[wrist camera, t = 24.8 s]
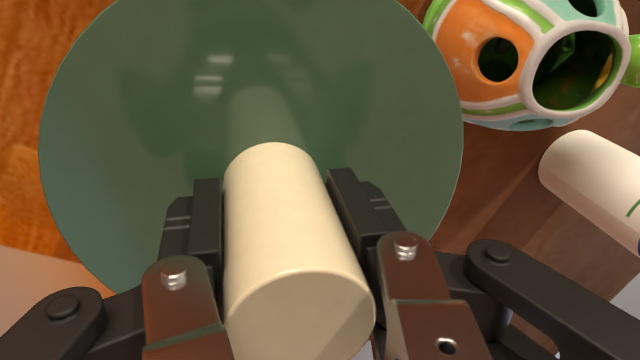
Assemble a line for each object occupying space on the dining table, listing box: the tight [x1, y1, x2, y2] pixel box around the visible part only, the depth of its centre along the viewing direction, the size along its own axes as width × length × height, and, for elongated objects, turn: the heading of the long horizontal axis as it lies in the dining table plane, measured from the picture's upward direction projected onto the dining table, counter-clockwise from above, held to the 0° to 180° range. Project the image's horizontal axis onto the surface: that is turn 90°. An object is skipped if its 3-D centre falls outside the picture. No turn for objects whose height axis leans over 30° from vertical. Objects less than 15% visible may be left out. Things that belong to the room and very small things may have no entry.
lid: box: [38, 0, 463, 360], centre depth 12 cm, size 13×13×7 cm
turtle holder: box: [422, 0, 640, 131], centre depth 31 cm, size 12×18×12 cm
